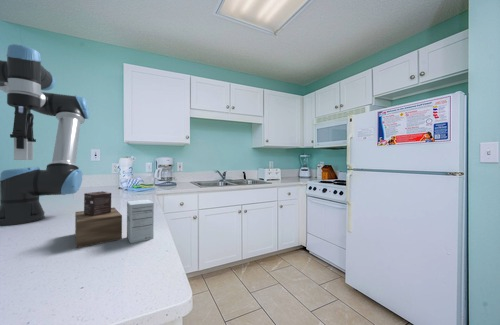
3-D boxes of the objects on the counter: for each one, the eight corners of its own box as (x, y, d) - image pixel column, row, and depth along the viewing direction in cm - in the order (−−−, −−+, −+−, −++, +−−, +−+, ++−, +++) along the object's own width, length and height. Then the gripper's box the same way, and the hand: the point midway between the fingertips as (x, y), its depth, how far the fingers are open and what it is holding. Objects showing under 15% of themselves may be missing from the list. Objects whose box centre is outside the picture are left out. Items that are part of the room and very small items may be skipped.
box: (83, 214, 73) (83, 193, 73) (102, 210, 78) (102, 191, 78) (92, 216, 70) (92, 194, 70) (111, 212, 75) (111, 192, 75)
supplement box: (126, 237, 74) (126, 201, 74) (149, 232, 78) (149, 199, 78) (129, 243, 68) (129, 204, 68) (154, 238, 72) (154, 202, 72)
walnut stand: (75, 233, 76) (75, 211, 76) (114, 227, 84) (114, 207, 84) (76, 247, 64) (76, 221, 64) (121, 238, 72) (121, 215, 72)
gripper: (15, 101, 76) (14, 159, 76) (-4, 81, 57) (-4, 159, 57) (43, 105, 81) (43, 160, 81) (36, 88, 62) (35, 160, 62)
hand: (24, 160), depth 69 cm, fingers open, 13 cm apart
